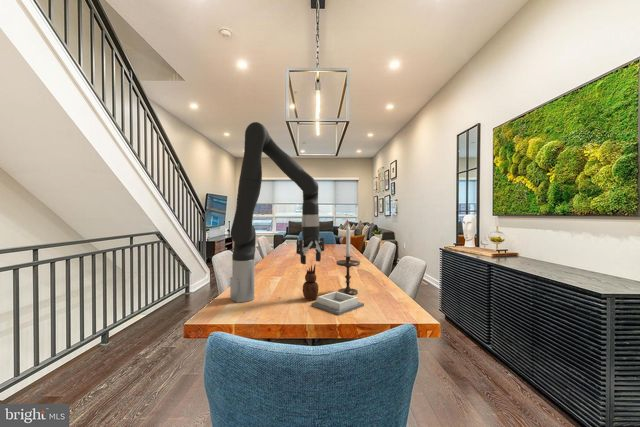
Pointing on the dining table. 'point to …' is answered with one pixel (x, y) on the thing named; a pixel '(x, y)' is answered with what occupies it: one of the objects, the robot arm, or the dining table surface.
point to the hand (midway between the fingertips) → (310, 262)
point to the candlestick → (348, 265)
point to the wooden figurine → (310, 285)
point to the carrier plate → (337, 303)
